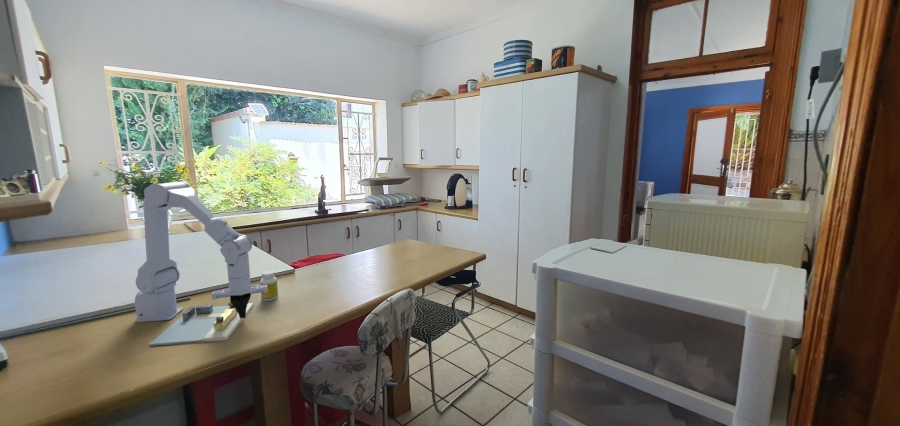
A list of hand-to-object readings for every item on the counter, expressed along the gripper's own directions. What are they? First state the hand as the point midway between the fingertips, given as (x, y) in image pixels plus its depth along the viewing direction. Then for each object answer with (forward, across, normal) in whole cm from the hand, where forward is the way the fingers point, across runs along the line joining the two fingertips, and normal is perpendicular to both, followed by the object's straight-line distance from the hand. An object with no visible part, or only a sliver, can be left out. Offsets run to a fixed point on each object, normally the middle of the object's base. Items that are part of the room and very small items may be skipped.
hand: (242, 316), depth 107 cm
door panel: (+2, +10, -2) cm, 10 cm away
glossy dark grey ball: (+2, +3, -5) cm, 6 cm away
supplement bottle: (+2, -7, -16) cm, 18 cm away
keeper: (+2, +13, -8) cm, 15 cm away
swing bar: (0, +4, +1) cm, 5 cm away
